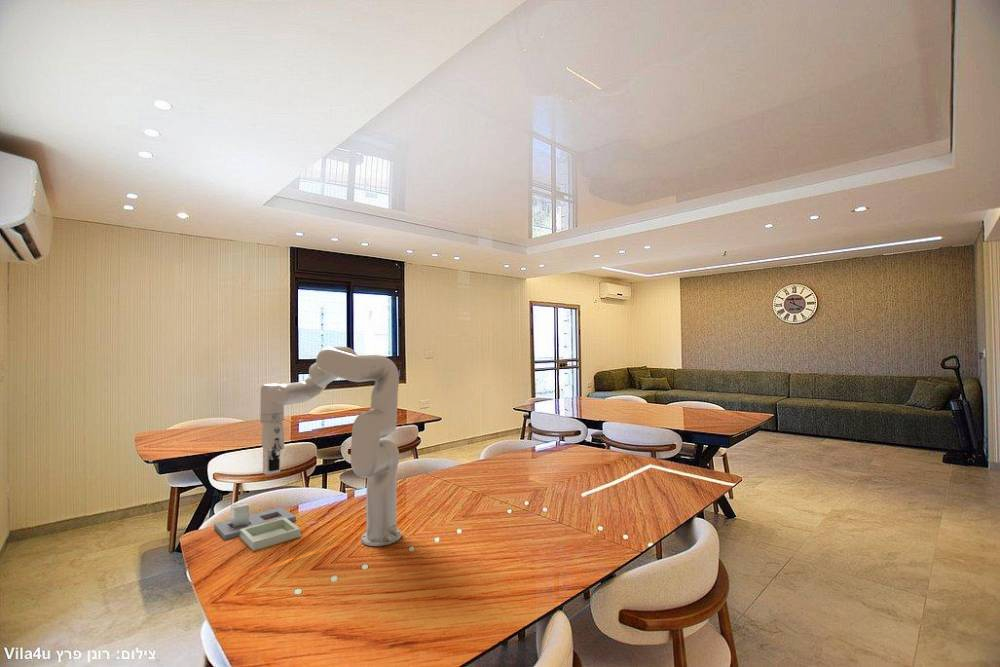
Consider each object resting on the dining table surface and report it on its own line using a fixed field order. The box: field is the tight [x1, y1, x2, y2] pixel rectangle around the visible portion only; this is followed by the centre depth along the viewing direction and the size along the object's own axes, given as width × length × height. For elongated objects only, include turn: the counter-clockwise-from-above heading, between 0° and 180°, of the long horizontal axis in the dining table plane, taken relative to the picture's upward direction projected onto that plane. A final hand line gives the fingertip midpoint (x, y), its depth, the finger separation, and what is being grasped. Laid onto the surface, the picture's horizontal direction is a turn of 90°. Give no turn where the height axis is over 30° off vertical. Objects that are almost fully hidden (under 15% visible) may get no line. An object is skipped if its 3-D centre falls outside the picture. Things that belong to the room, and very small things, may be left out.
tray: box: [239, 518, 302, 552], centre depth 142 cm, size 14×14×4 cm
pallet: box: [213, 506, 297, 541], centre depth 153 cm, size 14×22×2 cm, turn 135°
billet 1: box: [230, 501, 250, 529], centre depth 149 cm, size 4×4×9 cm
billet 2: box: [262, 447, 281, 476], centre depth 157 cm, size 4×4×9 cm
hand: (271, 468), depth 157 cm, fingers closed on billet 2, 4 cm apart
